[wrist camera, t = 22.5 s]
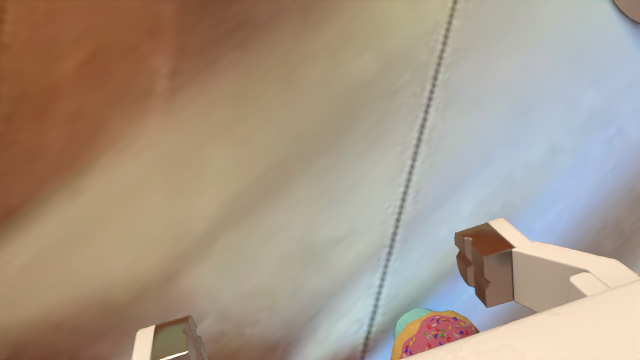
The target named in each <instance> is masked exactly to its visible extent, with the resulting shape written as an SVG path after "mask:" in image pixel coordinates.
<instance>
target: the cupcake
mask: <svg viewBox="0 0 640 360" xmlns="http://www.w3.org/2000/svg"><path fill="white" fill-rule="evenodd" d="M477 333H480V332H479V331H478V330H477V328H476V327H475V326H474V325H473V324H472V323H471V322H470V321H469V320H468V319H467V318H466V317H464V316H462V315H460V314H458V313H456V312H454V311H444V312H436V311H432V310H429V309H426V308H417V309H413V310H411V311H409V312H407V313H406V314H404V315H403V316H402V317H401V318H400V319H399V321H398V322H397V324H396V326H395V330H394V341H395V342H394V345H393V349H392V353H391V359H390V360H400V359H403V358H406V357H409V356H412V355H415V354H418V353H421V352H424V351H427V350H430V349H433V348H436V347H439V346H442V345H445V344H448V343H451V342H454V341H457V340H460V339H463V338H465V337H468V336H471V335H474V334H477Z"/></svg>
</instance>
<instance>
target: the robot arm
mask: <svg viewBox="0 0 640 360" xmlns="http://www.w3.org/2000/svg"><path fill="white" fill-rule="evenodd" d="M614 1H615V3H616V4H617V5H618V7H619V8H620V9H621V10H622V11H623V12H624V13H625V14H626V15H627V16H629V17H630V18H631V19H633V20H635V21H636V22H638V23H640V0H614ZM454 239H455V245H456V246H457V247H458V248H459V252H458V254H457V256H456V259H457V266H458V269H459V271H460V274H461V276H462V278H463V280H464V281H465V282H466V284H467V285H468V286H471V287H474V288H475V294H476V296H477V297H478V298H479V299H480V300H481V302H482V303H483V304H484V305H485V306H486V307H487V308H489V307H493V306H496V305H499V304H503V303H506V302H509V301H513V300H514V302H517V303H519V304H521V305H523V306H525V307H527V308H530V309H532V310H534V311H536V312H538V313H537V314H534V315H531V316H528V317H525V318H522V319H519V320H516V321H513V322H510V323H507V324H504V325H501V326H498V327H495V328H492V329H489V330H486V331H483V332H480V333H477V334H474V335H471V336H468V337H465V338H463V339H460V340H457V341H454V342H451V343H448V344H445V345H442V346H439V347H436V348H433V349H430V350H427V351H424V352H421V353H418V354H415V355H412V356H409V357H406V358H403V359H400V360H640V276H639V275H638V274H636V273H635V272H633V271H632V270H631V269H629V268H628V267H626V266H625V265H623V264H622V263H621V262H619V261H618V260H615V259H611V258H606V257H602V256H598V255H594V254H589V253H585V252H581V251H577V250H572V249H568V248H564V247H560V246H555V245H551V244H547V243H543V242H538V241H537V242H532V241H530V240H529V239H528V238H527V237H525V236H524V235H523V234H522V233H521V232H519V231H518V230H517V229H516V228H515V227H513V226H512V225H511V224H510V223H508V222H507V221H506V220H505V219H504V218H498V219H495V220H492V221H489V222H486V223H485V224H481V225H478V226H475V227H472V228H469V229H466V230H463V231H460V232H456V233H455V237H454ZM132 360H208V357H207V351H206V348H205V345H204V342H203V340H202V337H200V336H198V335H197V325H196V323H195V321H194V319H193V317H192V316H191V315H188V316H185V317H181V318H178V319H174V320H171V321H167V322H164V323H160V324H157V325H154V326H150V327H147V328H144V329H141V330H139V331H138V332H137V334H136V339H135V345H134V350H133V355H132Z"/></svg>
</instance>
